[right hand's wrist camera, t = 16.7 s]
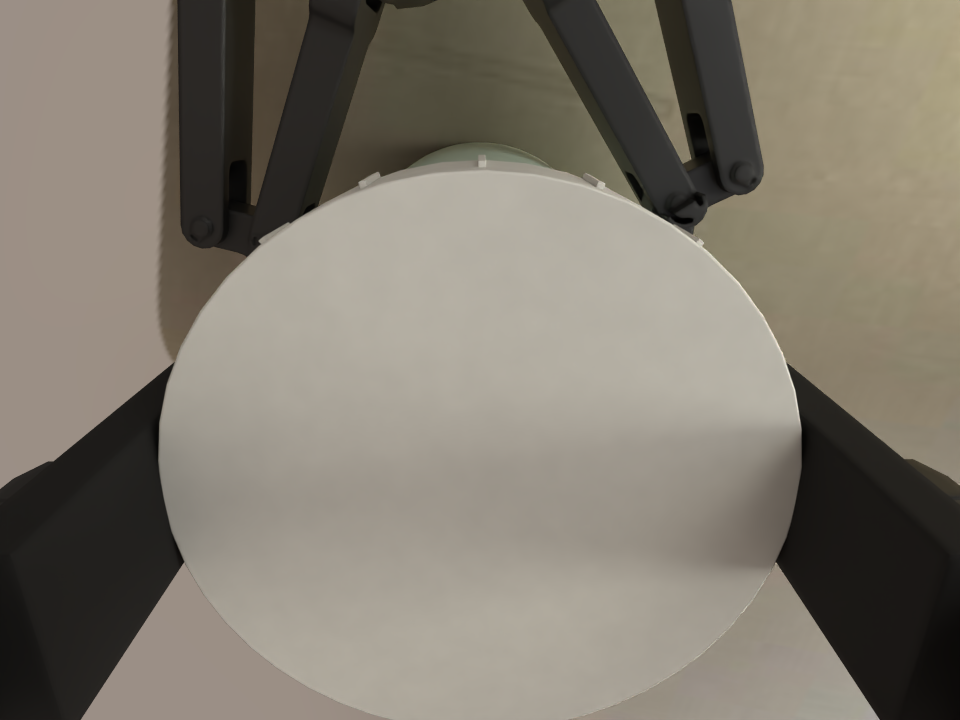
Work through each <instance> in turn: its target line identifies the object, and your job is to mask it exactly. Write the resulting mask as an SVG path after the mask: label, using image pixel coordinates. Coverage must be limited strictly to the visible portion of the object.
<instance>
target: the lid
mask: <svg viewBox="0 0 960 720" xmlns="http://www.w3.org/2000/svg"><path fill="white" fill-rule="evenodd" d="M358 184H359V185H358V186H356V187H354V188H352V189H350V190H349V191H347V192H345V193H343V194H341V195H339V196H337V197H335V198H333V199H331V200H329V201H327V202H325V203H323V204H322V205H320V206H318V207H317V208H315V209H313V210H312V211H310V212H308V213H306V214H305V215H303V216H301V217H300V218H298V219H296V220H295V221H293V222H292V223H291V224H290V223H289V222H288V223H286V224H284V225H283V226H281V227H279V228H277V229H276V230H274V231H272V232H271V233H269V234H267V235H265V236H264V237H262V238H261V239H260V240H259V242H260V243H261V245H259V246H258V247H257V248H256V249H255V250H254V251H253V252H252V253H251V254H250V255H249V256H248V257H247V258H246V259H245V260H244V261H243V262H242V263H240V264H239V265H238V266H237V267H236V268H235V269H234V270H233V271H232V272H231V273H230V274H229V275H228V276H227V277H226V278H225V279H224V281H223V282H222V283H221V285H220V286H219V287H218V288H217V290H216V291H215V292H214V294H213V295H212V296H211V298H210V299H209V300H208V301H207V303H206V304H205V305H204V307H203V308H202V309H201V310H200V312H199V314H198V316H197V318H196V319H195V321H194V323H193V325H192V327H191V329H190V330H189V332H188V334H187V336H186V338H185V339H184V341H183V343H182V345H181V347H180V349H179V352H178V355H177V358H176V360H175V363H174V366H173V369H172V371H171V374H170V377H169V380H168V382H167V386H166V391H165V396H164V401H163V406H162V412H161V417H160V422H159V447H158V465H159V474H160V480H161V485H162V491H163V496H164V501H165V505H166V510H167V514H168V519H169V524H170V528H171V532H172V534H173V536H174V539H175V541H176V543H177V546H178V548H179V550H180V553H181V555H182V558H183V560H184V562H185V565H186V566H187V568H188V570H189V571H190V573H191V575H192V576H193V578H194V580H195V581H196V583H197V585H198V586H199V588H200V590H201V591H202V593H203V595H204V596H205V597H206V599H207V600H208V601H209V602H210V604H211V605H212V606H213V607H214V609H215V610H216V611H217V613H218V614H219V615H220V616H221V618H222V619H223V620H224V621H225V623H226V624H227V625H228V626H229V627H230V628H231V629H232V630H233V631H234V632H235V633H236V634H237V635H238V636H239V637H240V638H241V639H242V640H243V641H244V642H245V643H246V644H247V645H248V646H249V647H251V648H252V649H253V650H254V651H256V652H257V653H258V654H259V655H261V656H262V657H263V658H265V659H266V660H267V661H268V662H270V663H271V664H272V665H273V666H275V667H276V668H277V669H279V670H280V671H282V672H283V673H285V674H287V675H288V676H290V677H292V678H293V679H295V680H296V681H298V682H300V683H301V684H303V685H304V686H306V687H308V688H310V689H312V690H314V691H316V692H318V693H320V694H322V695H324V696H326V697H328V698H330V699H332V700H335V701H337V702H339V703H341V704H344V705H347V706H349V707H352V708H355V709H358V710H360V711H363V712H366V713H369V714H371V715H375V716H379V717H383V718H387V719H391V720H569V719H574V718H578V717H582V716H585V715H588V714H591V713H594V712H597V711H599V710H602V709H605V708H608V707H611V706H614V705H616V704H619V703H621V702H623V701H625V700H627V699H629V698H632V697H634V696H636V695H638V694H640V693H642V692H645V691H647V690H648V689H650V688H652V687H653V686H655V685H657V684H659V683H660V682H662V681H664V680H665V679H667V678H669V677H670V676H672V675H674V674H675V673H677V672H678V671H680V670H681V669H682V668H684V667H685V666H686V665H688V664H689V663H690V662H692V661H693V660H694V659H696V658H697V657H698V656H700V655H701V654H702V653H703V652H705V651H706V650H707V649H708V648H709V647H710V646H711V645H712V644H713V643H714V642H715V641H716V640H717V639H719V638H720V637H721V636H722V635H723V634H724V633H725V632H726V631H727V630H728V629H729V628H730V627H731V626H732V625H733V623H734V622H735V621H736V620H737V619H738V617H739V616H740V615H741V614H742V612H743V611H744V610H745V609H746V608H747V606H748V605H749V604H750V603H751V602H752V600H753V599H754V597H755V596H756V594H757V593H758V591H759V589H760V588H761V586H762V585H763V583H764V581H765V580H766V578H767V577H768V575H769V573H770V572H771V570H772V568H773V566H774V564H775V562H776V560H777V557H778V555H779V553H780V551H781V549H782V546H783V544H784V542H785V540H786V538H787V534H788V531H789V528H790V524H791V520H792V515H793V511H794V506H795V502H796V496H797V491H798V486H799V481H800V475H801V470H802V429H801V423H800V417H799V411H798V405H797V399H796V393H795V389H794V386H793V383H792V380H791V377H790V374H789V371H788V368H787V365H786V362H785V358H784V355H783V353H782V351H781V349H780V347H779V345H778V343H777V341H776V339H775V337H774V335H773V333H772V331H771V329H770V328H769V326H768V324H767V322H766V320H765V318H764V316H763V315H762V313H761V312H760V311H759V309H758V308H757V307H756V305H755V304H754V302H753V301H752V300H751V298H750V297H749V296H748V294H747V293H746V292H745V290H744V289H743V287H742V286H741V285H740V283H739V282H738V281H737V280H736V279H735V278H734V277H733V276H732V275H731V274H730V273H729V272H728V271H727V270H726V269H725V268H724V267H723V266H722V265H721V264H720V263H719V262H718V261H717V260H716V259H715V258H714V257H713V256H712V255H711V254H710V253H709V252H708V251H707V250H706V249H704V248H703V247H702V245H703V244H704V242H703V241H702V240H700V239H699V238H697V237H696V236H694V235H692V234H691V233H689V232H687V231H685V230H684V229H682V228H680V227H678V226H677V225H675V224H673V225H672V224H671V223H669V222H667V221H666V220H664V219H662V218H660V217H659V216H657V215H655V214H654V213H652V212H650V211H648V210H647V209H645V208H643V207H642V206H640V205H638V204H636V203H634V202H633V201H631V200H629V199H627V198H625V197H623V196H621V195H620V194H618V193H616V192H614V191H612V190H610V189H609V188H607V187H605V183H604V182H602V181H600V180H598V179H597V178H595V177H593V176H591V175H589V174H587V173H584V175H583V178H581V177H578V176H575V175H573V174H570V173H567V172H563V171H559V170H554V169H549V168H545V167H540V166H536V165H531V164H527V163H516V162H504V161H492V160H486V158H485V155H478V160H473V161H455V162H441V163H435V164H430V165H425V166H420V167H415V168H410V169H405V170H400V171H397V172H394V173H391V174H389V175H386V176H383V177H380V174H379V172H376V173H374V174H372V175H370V176H368V177H366V178H365V179H363V180H361V181H360V182H358Z"/></svg>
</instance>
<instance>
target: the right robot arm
mask: <svg viewBox="0 0 960 720" xmlns="http://www.w3.org/2000/svg"><path fill="white" fill-rule="evenodd" d="M174 363H175V362H174ZM174 363H173V364H172V365H170V366H169V367H168V368H167V369H166V370H164V371H163V372H162V373H161V374H160V375H158V376H157V377H156V378H155V379H153V380H152V381H151V382H150V383H149V384H147V385H146V386H145V387H144V388H142V389H141V390H140V391H139V392H138V393H136V394H135V395H134V396H133V397H132V398H130V399H129V400H128V401H127V402H125V403H124V404H123V405H122V406H121V407H119V408H118V409H117V410H116V411H114V412H113V413H112V414H111V415H110V416H108V417H107V418H106V419H105V420H104V421H102V422H101V423H100V424H99V425H97V426H96V427H95V428H94V429H92V430H91V431H90V432H89V433H88V434H86V435H85V436H84V437H83V438H82V439H80V440H79V441H78V442H77V443H75V444H74V445H73V446H72V447H71V448H69V449H68V450H67V451H66V452H64V453H63V454H62V455H61V456H60V457H58V458H57V459H56V460H55V461H53V462H46V463H44V464H42V465H40V466H38V467H36V468H34V469H32V470H30V471H28V472H26V473H24V474H22V475H20V476H18V477H16V478H14V479H12V480H11V481H10V482H9V483H7V484H6V485H5V486H4V487H2V488H1V489H0V720H81V718H82V717H83V715H84V714H85V712H86V711H87V709H88V708H89V706H90V705H91V703H92V702H93V700H94V699H95V697H96V695H97V694H98V692H99V691H100V689H101V688H102V686H103V685H104V683H105V682H106V680H107V679H108V677H109V676H110V674H111V673H112V671H113V670H114V668H115V666H116V665H117V664H118V662H119V660H120V659H121V657H122V656H123V654H124V653H125V651H126V650H127V648H128V647H129V645H130V644H131V642H132V641H133V639H134V638H135V636H136V635H137V633H138V631H139V630H140V628H141V627H142V625H143V624H144V622H145V621H146V619H147V618H148V616H149V615H150V613H151V612H152V610H153V609H154V607H155V606H156V604H157V603H158V601H159V600H160V598H161V596H162V595H163V593H164V592H165V590H166V589H167V587H168V586H169V584H170V583H171V581H172V580H173V578H174V577H175V575H176V574H177V572H178V571H179V569H180V568H181V566H182V564H183V563H184V560H183V558H182V555H181V553H180V550H179V548H178V546H177V543H176V541H175V539H174V536H173V534H172V532H171V528H170V524H169V519H168V514H167V510H166V505H165V501H164V496H163V491H162V485H161V480H160V474H159V465H158V447H159V422H160V417H161V412H162V406H163V401H164V396H165V391H166V386H167V382H168V380H169V377H170V374H171V371H172V369H173V366H174ZM786 365H787V368H788V371H789V374H790V377H791V380H792V383H793V386H794V389H795V393H796V399H797V405H798V411H799V417H800V423H801V429H802V470H801V475H800V481H799V486H798V491H797V496H796V502H795V506H794V511H793V515H792V520H791V524H790V528H789V531H788V534H787V538H786V540H785V542H784V544H783V546H782V549H781V551H780V553H779V555H778V557H777V560H776V562H777V564H778V565H779V567H780V568H781V570H782V572H783V573H784V575H785V576H786V578H787V579H788V581H789V582H790V584H791V585H792V587H793V588H794V590H795V591H796V593H797V594H798V596H799V597H800V599H801V600H802V602H803V603H804V605H805V607H806V608H807V610H808V611H809V613H810V614H811V616H812V617H813V619H814V620H815V622H816V623H817V625H818V626H819V628H820V629H821V631H822V632H823V634H824V635H825V637H826V639H827V640H828V642H829V643H830V645H831V646H832V648H833V649H834V651H835V652H836V654H837V655H838V657H839V658H840V660H841V661H842V663H843V664H844V666H845V667H846V669H847V670H848V672H849V674H850V675H851V677H852V678H853V680H854V681H855V683H856V684H857V686H858V687H859V689H860V690H861V692H862V693H863V695H864V696H865V698H866V699H867V701H868V702H869V704H870V706H871V707H872V709H873V710H874V712H875V713H876V715H877V716H878V718H879V719H880V720H960V486H959V485H958V484H957V483H956V482H954V481H953V480H952V479H950V478H949V477H948V476H946V475H944V474H942V473H940V472H938V471H936V470H934V469H932V468H930V467H928V466H926V465H924V464H921V463H919V462H917V461H915V460H913V459H903V458H902V457H901V456H900V455H898V454H897V453H896V452H895V451H894V450H892V449H891V448H890V447H889V446H887V445H886V444H885V443H884V442H883V441H881V440H880V439H879V438H878V437H876V436H875V435H874V434H873V433H872V432H870V431H869V430H868V429H867V428H866V427H864V426H863V425H862V424H861V423H859V422H858V421H857V420H856V419H855V418H853V417H852V416H851V415H850V414H848V413H847V412H846V411H845V410H844V409H842V408H841V407H840V406H839V405H837V404H836V403H835V402H834V401H833V400H831V399H830V398H829V397H828V396H827V395H825V394H824V393H823V392H822V391H820V390H819V389H818V388H817V387H816V386H814V385H813V384H812V383H811V382H809V381H808V380H807V379H806V378H805V377H803V376H802V375H801V374H800V373H798V372H797V371H796V370H795V369H794V368H792V367H791V366H790V365H789V364H787V363H786Z"/></svg>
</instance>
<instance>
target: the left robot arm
mask: <svg viewBox="0 0 960 720" xmlns="http://www.w3.org/2000/svg"><path fill="white" fill-rule="evenodd" d="M434 1H436V0H309V20H308V24H307V28H306V32H305V35H304V39H303V42H302V46H301V49H300V53H299V56H298V60H297V64H296V67H295V71H294V74H293V78H292V81H291V85H290V88H289V92H288V96H287V99H286V103H285V106H284V110H283V113H282V117H281V120H280V124H279V128H278V131H277V135H276V138H275V142H274V145H273V149H272V152H271V156H270V160H269V163H268V167H267V170H266V174H265V177H264V181H263V184H262V188H261V192H260V195H259V199H258V202H257V206H253V205H251V164H252V122H253V80H254V37H255V0H178V69H179V138H180V207H181V228H182V233H183V235H184V236H185V238H186V239H187V241H189V242H190V243H191V244H192V245H194V246H196V247H199V248H211V247H213V246H214V247H218V248H222V249H226V250H230V251H234V252H238V253H241V254H243V255H245V256H247V257H248V256H249V255H250V254H251V253H252V252H253V251H254V250H255V249H256V248H257V247H258V246H259V245H261V243H260V242H259V240H260V239H261V238H262V237H264V236H265V235H267V234H269V233H271V232H272V231H274V230H276V229H277V228H279V227H281V226H283V225H284V224H286V223H288V222H289V223H290V224H291V223H292V222H293V221H295V220H296V219H298V218H300V217H301V216H303V215H305V214H306V213H308V212H310V211H312V210H313V209H315V208H317V207H318V204H319V201H320V198H321V194H322V191H323V188H324V185H325V182H326V178H327V175H328V172H329V169H330V166H331V163H332V159H333V156H334V153H335V150H336V147H337V144H338V140H339V137H340V134H341V131H342V128H343V124H344V121H345V118H346V115H347V112H348V109H349V105H350V102H351V99H352V96H353V93H354V90H355V86H356V83H357V80H358V77H359V74H360V70H361V67H362V64H363V61H364V58H365V55H366V51H367V48H368V46H369V44H370V42H371V40H372V39H373V37H374V35H375V32H376V29H377V27H378V23H379V20H380V17H381V14H382V11H383V8H384V4H385V3H387V4H392V5H394V6H395V7H396V8H397V9H402V8H410V7H419V6H425V5H427V4H429V3H432V2H434ZM523 2H524V3H525V5H526V7H527V9H528V10H529V12H530V14H531V15H532V17H533V18H534V20H535V21H536V22H537V23H538V25H539V26H540V27H541V29H542V31H543V32H544V34H545V36H546V38H547V40H548V41H549V43H550V45H551V47H552V48H553V50H554V52H555V54H556V55H557V57H558V59H559V61H560V63H561V64H562V66H563V68H564V70H565V71H566V73H567V75H568V77H569V79H570V80H571V82H572V84H573V86H574V87H575V89H576V91H577V93H578V94H579V96H580V98H581V100H582V102H583V103H584V105H585V107H586V109H587V110H588V112H589V114H590V116H591V118H592V119H593V121H594V123H595V125H596V126H597V128H598V130H599V132H600V134H601V135H602V137H603V139H604V141H605V142H606V144H607V146H608V148H609V149H610V151H611V153H612V155H613V157H614V158H615V160H616V162H617V164H618V165H619V167H620V169H621V171H622V173H623V174H624V176H625V178H626V180H627V181H628V183H629V185H630V187H631V188H632V190H633V192H634V194H635V196H636V197H637V199H638V201H639V203H640V204H641V205H642V207H643V208H645V209H647V210H648V211H650V212H652V213H654V214H655V215H657V216H659V217H660V218H662V219H664V220H666V221H667V222H669V223H671V224H672V225H673V224H675V225H677V226H678V227H680V228H682V229H684V230H685V231H687V232H689V233H691V234H692V235H693V230H694V226H695V225H697V224H698V223H699V222H700V221H701V220H702V219H703V218H704V216H705V214H706V212H707V208H708V207H709V206H711V205H713V204H715V203H717V202H720V201H722V200H724V199H726V198H728V197H730V196H733V195H743V194H747V193H749V192H751V191H753V190H754V189H755V188H756V187H757V186H758V185H759V184H760V182H761V179H762V177H763V171H764V166H763V161H762V155H761V150H760V145H759V140H758V135H757V130H756V125H755V120H754V115H753V109H752V104H751V99H750V94H749V89H748V84H747V79H746V74H745V68H744V63H743V58H742V53H741V48H740V43H739V38H738V33H737V28H736V22H735V17H734V12H733V7H732V2H731V0H655V4H656V8H657V13H658V17H659V21H660V25H661V30H662V34H663V38H664V43H665V47H666V51H667V56H668V60H669V64H670V68H671V73H672V77H673V81H674V86H675V90H676V94H677V99H678V103H679V107H680V111H681V116H682V120H683V124H684V129H685V133H686V137H687V141H688V146H689V150H690V154H691V159H692V160H690V161H688V162H686V163H683V164H682V162H681V160H680V158H679V156H678V154H677V152H676V151H675V149H674V147H673V145H672V143H671V141H670V139H669V137H668V135H667V134H666V132H665V130H664V128H663V126H662V124H661V122H660V120H659V118H658V117H657V115H656V113H655V111H654V109H653V107H652V105H651V103H650V101H649V100H648V98H647V96H646V94H645V92H644V90H643V88H642V86H641V84H640V83H639V81H638V79H637V77H636V75H635V73H634V71H633V69H632V67H631V66H630V64H629V62H628V60H627V58H626V56H625V54H624V52H623V50H622V49H621V47H620V45H619V43H618V41H617V39H616V37H615V35H614V33H613V32H612V30H611V28H610V26H609V24H608V22H607V20H606V18H605V16H604V15H603V13H602V11H601V9H600V7H599V5H598V3H597V1H596V0H523Z"/></svg>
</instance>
